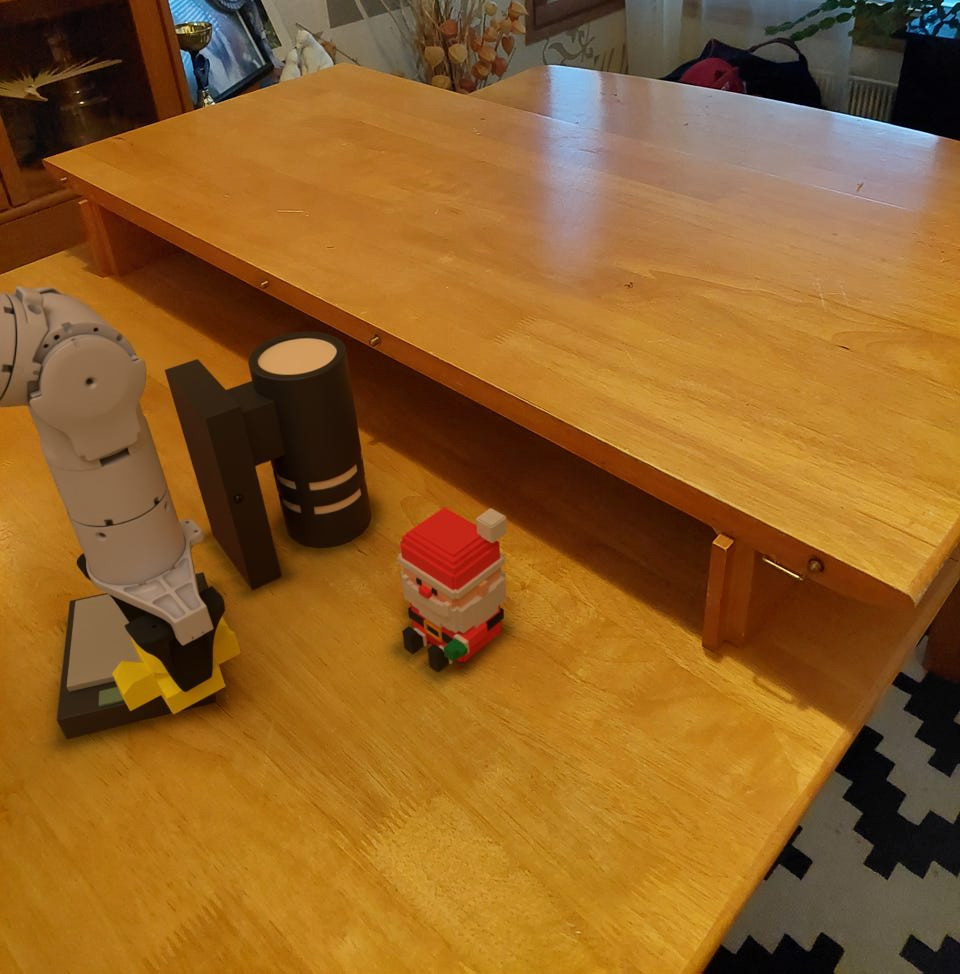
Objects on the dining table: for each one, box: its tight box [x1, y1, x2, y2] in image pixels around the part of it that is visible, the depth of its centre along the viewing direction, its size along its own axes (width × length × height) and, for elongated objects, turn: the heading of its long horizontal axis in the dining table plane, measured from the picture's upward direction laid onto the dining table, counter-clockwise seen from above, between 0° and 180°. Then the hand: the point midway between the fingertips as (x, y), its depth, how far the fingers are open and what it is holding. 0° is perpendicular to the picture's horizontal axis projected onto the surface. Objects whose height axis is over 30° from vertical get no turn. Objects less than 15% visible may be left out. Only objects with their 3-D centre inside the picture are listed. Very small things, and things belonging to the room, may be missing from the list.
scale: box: [56, 571, 217, 739], centre depth 74 cm, size 13×11×3 cm
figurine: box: [397, 506, 508, 672], centre depth 71 cm, size 8×7×12 cm
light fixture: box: [164, 331, 372, 591], centre depth 81 cm, size 10×14×18 cm
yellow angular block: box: [112, 616, 241, 715], centre depth 61 cm, size 6×8×8 cm
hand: (174, 654), depth 62 cm, fingers closed on yellow angular block, 6 cm apart
